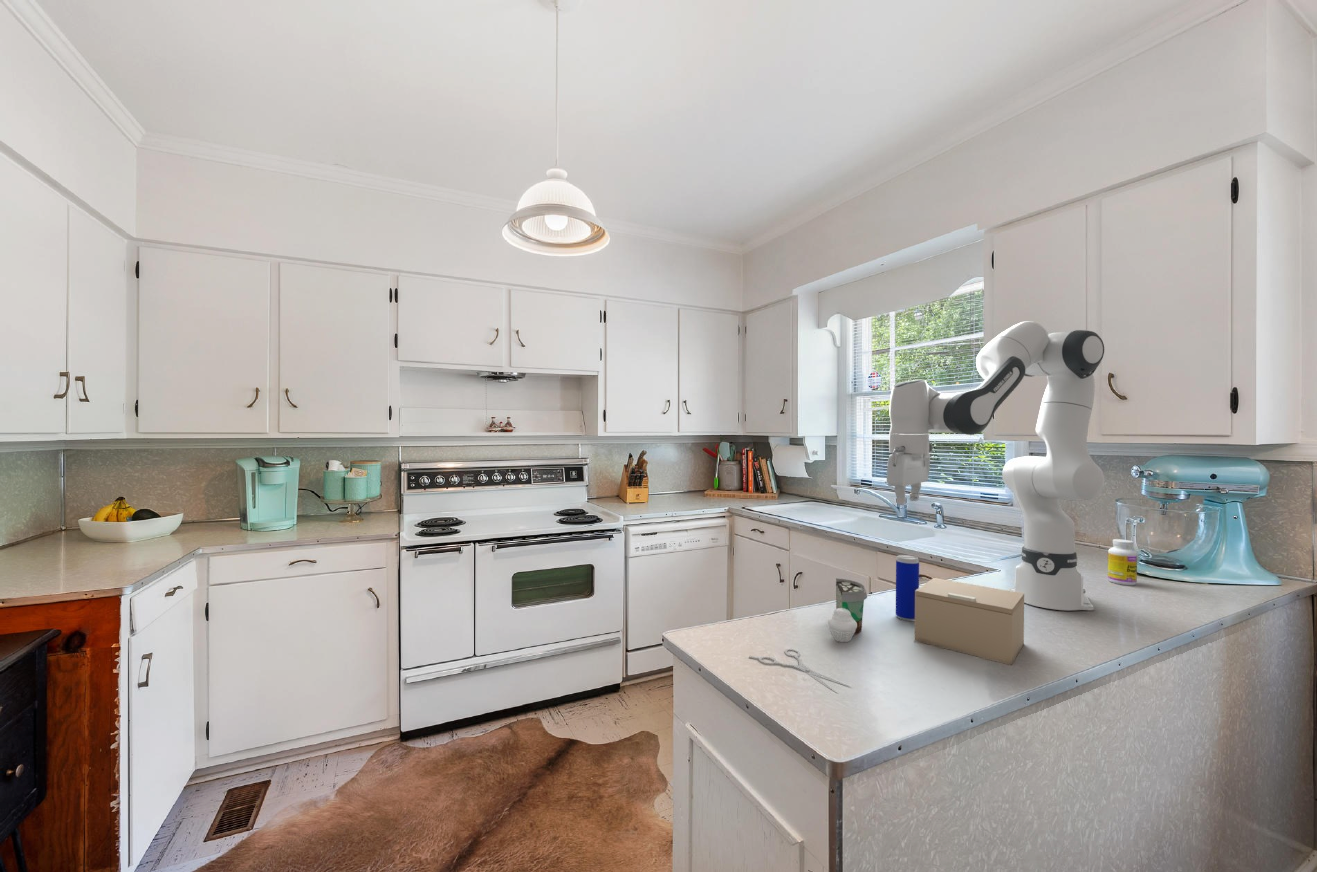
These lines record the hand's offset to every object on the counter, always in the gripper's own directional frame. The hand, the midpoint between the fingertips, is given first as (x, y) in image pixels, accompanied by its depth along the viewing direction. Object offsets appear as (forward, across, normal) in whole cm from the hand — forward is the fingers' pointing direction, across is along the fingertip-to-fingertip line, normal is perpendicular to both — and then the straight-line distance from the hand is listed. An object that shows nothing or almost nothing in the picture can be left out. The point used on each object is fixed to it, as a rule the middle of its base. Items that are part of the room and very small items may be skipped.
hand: (908, 502), depth 132 cm
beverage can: (+29, 0, 0) cm, 29 cm away
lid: (+18, -7, -15) cm, 25 cm away
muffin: (+29, -24, +6) cm, 38 cm away
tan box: (+28, -7, -15) cm, 33 cm away
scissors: (+29, -44, +5) cm, 53 cm away
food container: (+29, -16, +7) cm, 34 cm away
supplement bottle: (+28, +76, -38) cm, 90 cm away
